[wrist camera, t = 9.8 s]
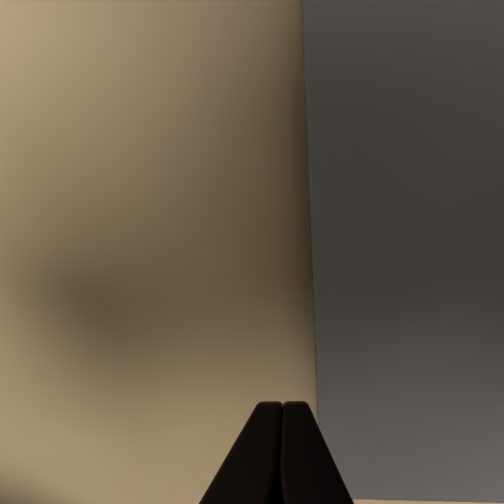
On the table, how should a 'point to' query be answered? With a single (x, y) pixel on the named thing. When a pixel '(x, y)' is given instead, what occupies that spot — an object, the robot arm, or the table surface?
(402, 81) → the mat
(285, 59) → the table surface
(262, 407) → the robot arm
